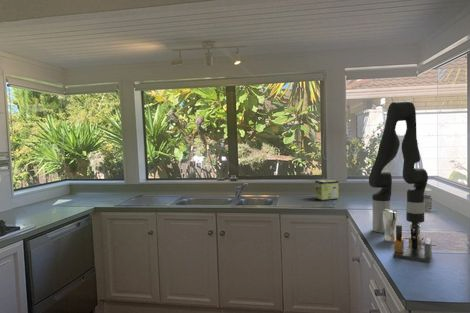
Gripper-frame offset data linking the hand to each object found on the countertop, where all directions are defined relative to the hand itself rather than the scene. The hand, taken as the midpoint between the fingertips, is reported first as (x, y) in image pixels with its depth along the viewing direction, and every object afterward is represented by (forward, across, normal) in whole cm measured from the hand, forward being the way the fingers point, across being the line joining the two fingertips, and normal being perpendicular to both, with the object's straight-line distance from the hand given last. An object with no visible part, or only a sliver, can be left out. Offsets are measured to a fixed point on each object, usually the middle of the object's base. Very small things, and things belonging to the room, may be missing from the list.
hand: (415, 246), depth 170 cm
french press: (+1, -89, -3) cm, 89 cm away
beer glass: (+1, -8, -12) cm, 14 cm away
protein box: (+1, -102, -74) cm, 126 cm away
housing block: (0, 0, 0) cm, 0 cm away
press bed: (0, +12, 0) cm, 12 cm away
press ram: (-1, +12, -6) cm, 13 cm away
